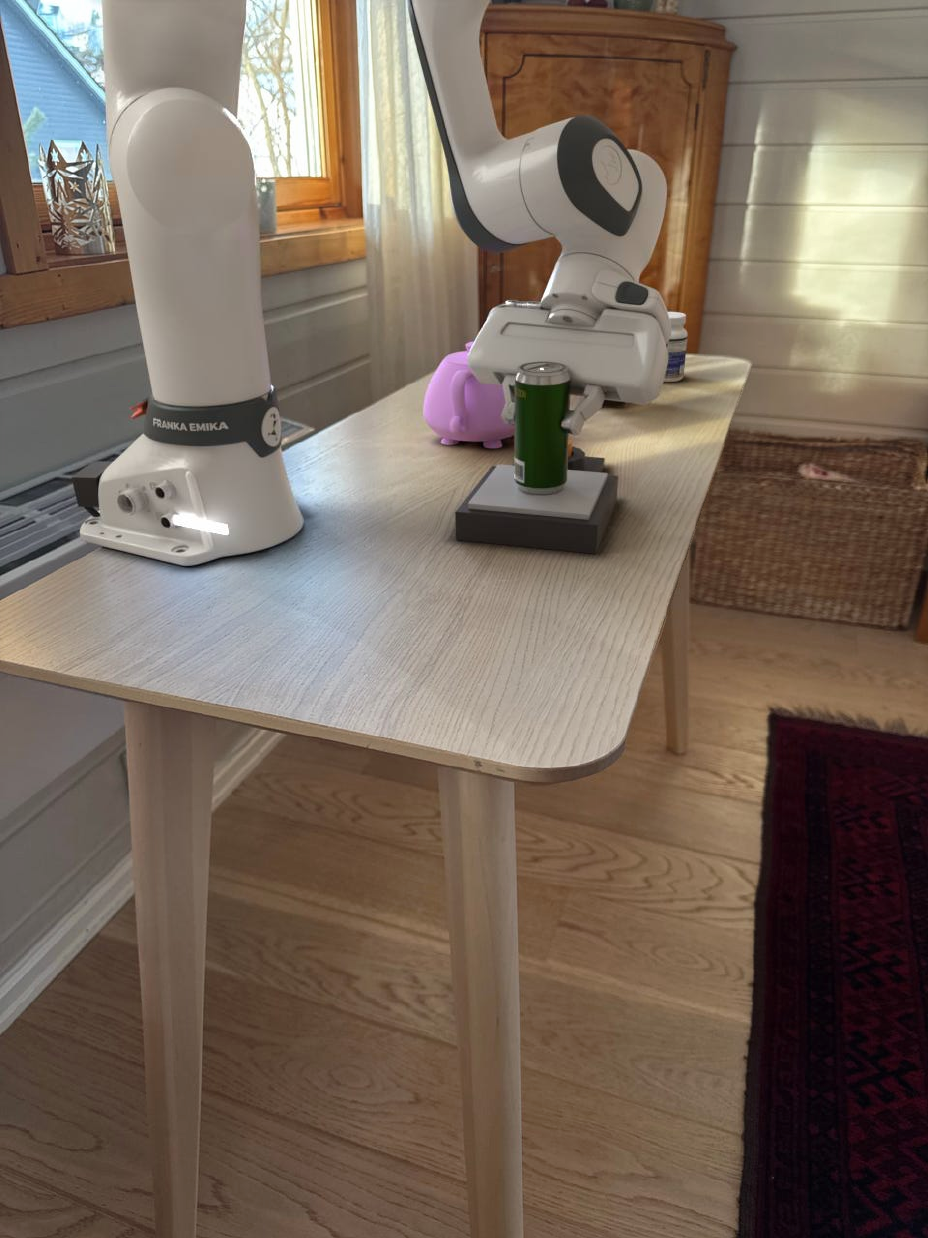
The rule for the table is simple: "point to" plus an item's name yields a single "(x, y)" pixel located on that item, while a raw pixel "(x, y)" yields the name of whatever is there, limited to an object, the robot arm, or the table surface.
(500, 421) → the teapot
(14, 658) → the table surface
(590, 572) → the table surface
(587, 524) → the scale
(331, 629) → the table surface
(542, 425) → the beer can
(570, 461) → the box
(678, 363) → the pill bottle
